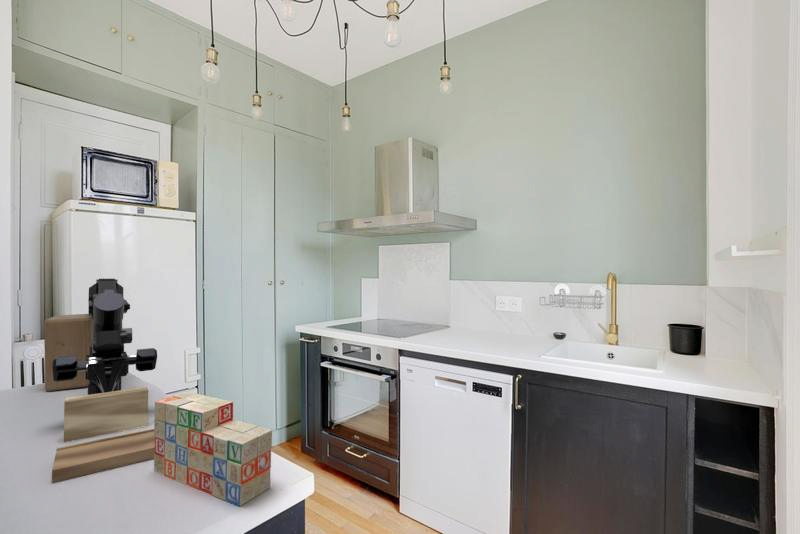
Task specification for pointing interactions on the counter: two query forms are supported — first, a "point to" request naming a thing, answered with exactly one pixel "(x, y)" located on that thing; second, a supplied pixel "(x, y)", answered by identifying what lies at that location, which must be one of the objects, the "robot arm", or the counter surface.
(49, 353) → the wooden block
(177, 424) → the stack of blocks
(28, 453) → the counter surface
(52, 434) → the counter surface
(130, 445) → the wooden molding strip
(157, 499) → the counter surface
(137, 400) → the oak plank
